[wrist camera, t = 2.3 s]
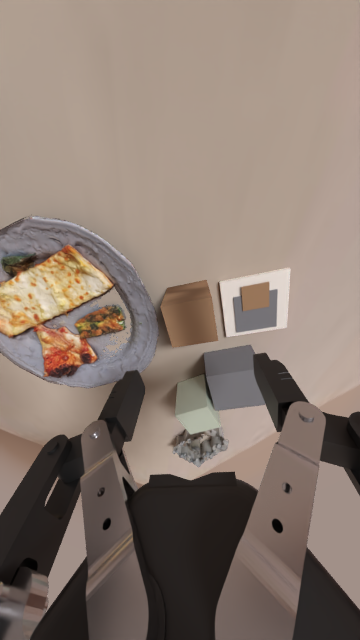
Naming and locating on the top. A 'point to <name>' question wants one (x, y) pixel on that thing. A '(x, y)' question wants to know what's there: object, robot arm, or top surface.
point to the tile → (255, 302)
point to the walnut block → (189, 314)
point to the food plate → (70, 304)
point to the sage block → (196, 405)
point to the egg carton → (191, 447)
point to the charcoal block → (232, 378)
